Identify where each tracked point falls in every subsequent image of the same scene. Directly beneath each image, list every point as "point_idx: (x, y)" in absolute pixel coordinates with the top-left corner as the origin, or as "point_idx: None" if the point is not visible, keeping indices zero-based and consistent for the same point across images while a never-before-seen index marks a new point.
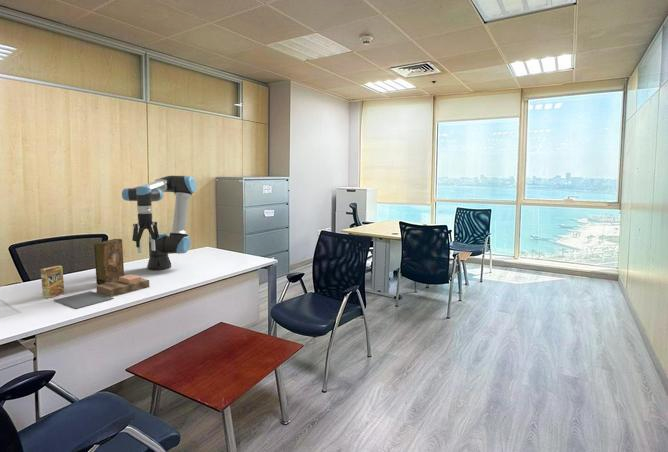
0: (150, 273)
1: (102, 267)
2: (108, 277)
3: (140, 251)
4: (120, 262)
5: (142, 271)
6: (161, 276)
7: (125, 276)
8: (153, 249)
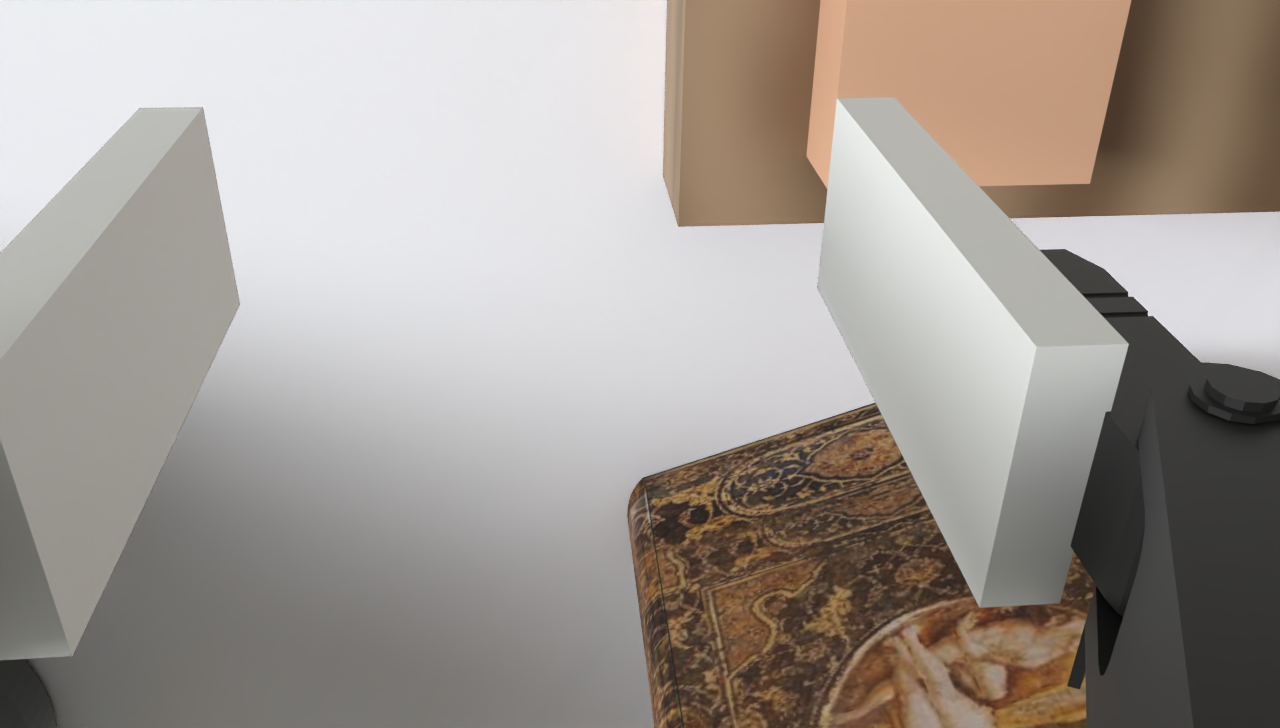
0: (139, 517)
1: None
2: None
3: (916, 127)
4: (758, 696)
5: (182, 695)
6: None
7: (1010, 103)
8: (201, 182)
